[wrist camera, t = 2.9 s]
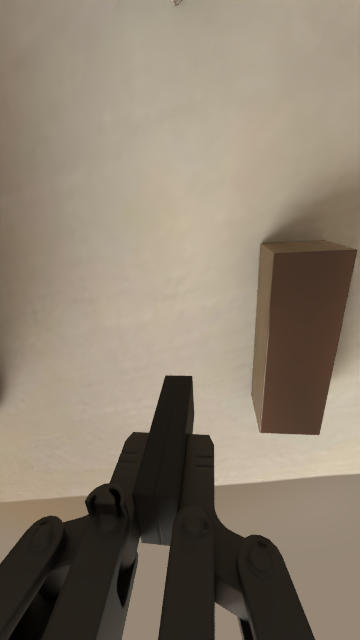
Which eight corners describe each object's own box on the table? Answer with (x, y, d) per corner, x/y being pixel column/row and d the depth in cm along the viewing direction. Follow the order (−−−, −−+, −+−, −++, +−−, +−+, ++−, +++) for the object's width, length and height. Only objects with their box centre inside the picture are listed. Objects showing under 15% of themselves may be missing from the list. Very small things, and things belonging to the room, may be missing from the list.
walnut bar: (251, 395, 24) (259, 433, 20) (260, 243, 19) (274, 253, 15) (300, 396, 24) (319, 435, 20) (325, 240, 18) (357, 249, 14)
